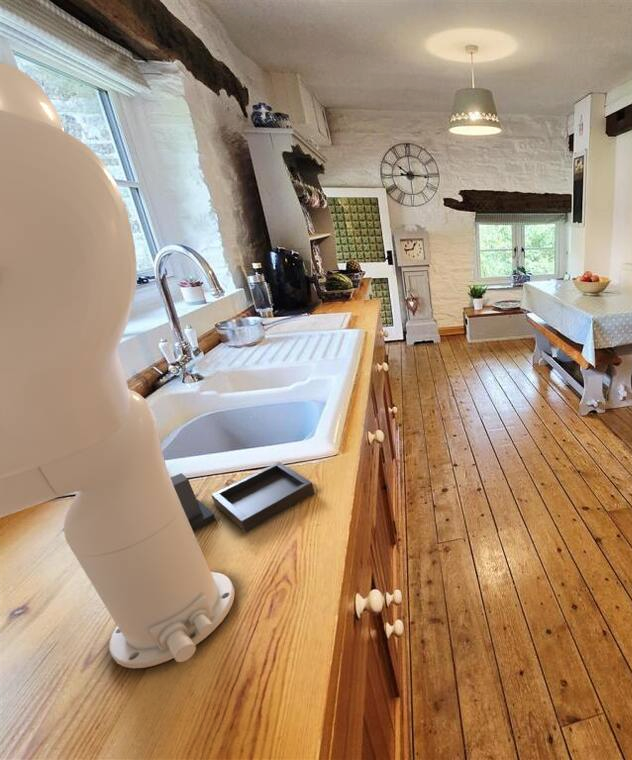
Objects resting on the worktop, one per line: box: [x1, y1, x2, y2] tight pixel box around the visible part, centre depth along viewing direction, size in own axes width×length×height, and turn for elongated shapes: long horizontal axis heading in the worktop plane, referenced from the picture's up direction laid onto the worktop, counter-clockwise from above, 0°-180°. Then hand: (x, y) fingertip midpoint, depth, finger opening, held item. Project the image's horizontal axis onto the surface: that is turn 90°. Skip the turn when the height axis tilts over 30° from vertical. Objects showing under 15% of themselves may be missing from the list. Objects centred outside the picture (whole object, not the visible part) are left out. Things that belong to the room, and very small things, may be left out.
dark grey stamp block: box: [170, 472, 217, 532], centre depth 67 cm, size 7×7×8 cm
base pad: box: [210, 461, 315, 533], centre depth 73 cm, size 12×12×2 cm
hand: (52, 355), depth 54 cm, fingers open, 9 cm apart
